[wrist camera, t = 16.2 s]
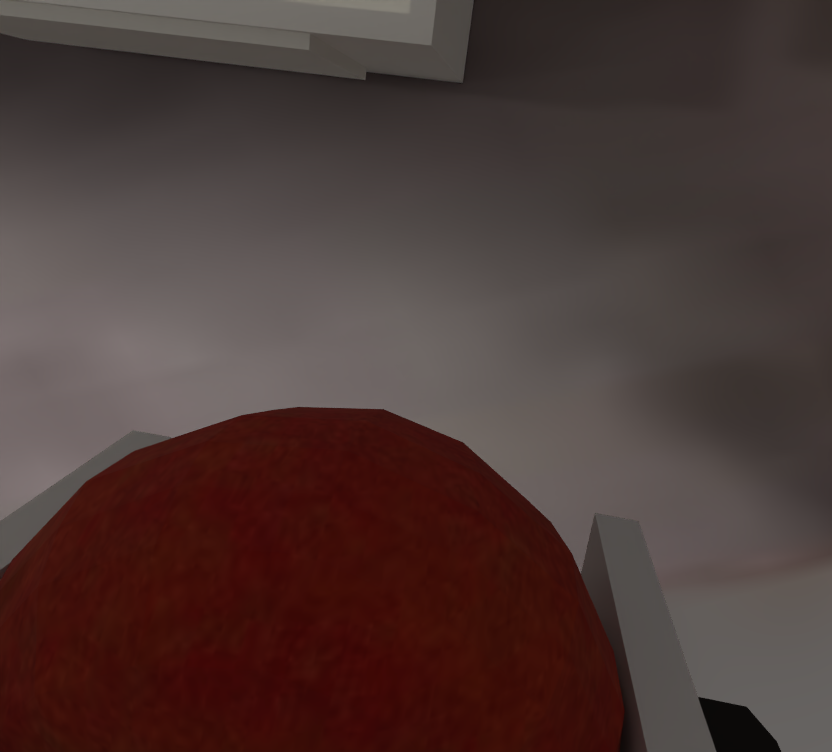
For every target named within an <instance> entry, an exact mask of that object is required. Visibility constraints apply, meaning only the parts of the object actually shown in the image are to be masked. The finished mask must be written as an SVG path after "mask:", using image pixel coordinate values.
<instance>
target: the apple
mask: <svg viewBox="0 0 832 752" xmlns="http://www.w3.org/2000/svg"><path fill="white" fill-rule="evenodd" d="M624 713H625V710H624V705H623V699H622V694H621V688H620V683H619V677H618V672H617V666H616V661H615V656H614V651H613V649H612V646H611V644H610V642H609V639H608V637H607V635H606V632H605V630H604V628H603V625H602V623H601V621H600V618H599V616H598V614H597V611H596V609H595V607H594V604H593V602H592V600H591V597H590V595H589V593H588V590H587V588H586V586H585V583H584V581H583V579H582V576H581V574H580V572H579V569H578V567H577V565H576V562H575V560H574V558H573V555H572V553H571V552H570V550H569V549H568V547H567V546H566V544H565V543H564V541H563V540H562V538H561V537H560V535H559V534H558V532H557V531H556V529H555V528H554V526H553V525H552V523H551V522H550V521H549V520H548V519H547V518H546V517H545V516H544V515H543V514H542V513H541V512H539V511H538V510H537V509H536V508H535V507H534V506H533V505H532V504H531V503H530V502H529V501H528V500H527V499H526V498H525V497H523V496H522V495H521V494H520V493H519V492H518V491H517V490H516V489H514V488H513V487H512V486H511V485H510V484H509V483H508V482H507V481H505V480H504V479H503V478H502V477H501V476H500V475H499V474H498V473H497V472H495V471H494V470H493V469H492V468H491V467H490V466H489V465H488V464H486V463H485V462H484V461H483V460H482V459H481V458H480V457H479V456H477V455H476V454H475V453H474V452H473V451H472V450H471V449H470V448H468V447H467V446H466V445H465V444H464V443H463V442H460V441H458V440H456V439H453V438H451V437H448V436H446V435H444V434H441V433H439V432H436V431H434V430H432V429H429V428H427V427H424V426H422V425H420V424H417V423H415V422H412V421H410V420H408V419H405V418H403V417H400V416H398V415H396V414H393V413H391V412H389V411H386V410H384V409H351V408H312V407H295V408H286V409H278V410H271V411H265V412H259V413H253V414H247V415H241V416H238V417H235V418H232V419H229V420H226V421H223V422H220V423H217V424H214V425H211V426H208V427H205V428H202V429H199V430H196V431H193V432H190V433H187V434H184V435H181V436H178V437H175V438H172V439H168V440H165V441H162V442H159V443H156V444H153V445H150V446H147V447H144V448H141V449H138V450H135V451H133V452H131V453H130V454H128V455H127V456H125V457H124V458H122V459H120V460H119V461H117V462H116V463H114V464H113V465H111V466H109V467H108V468H106V469H105V470H103V471H102V472H100V473H98V474H97V475H95V476H94V477H92V478H91V479H89V480H87V481H86V482H85V483H84V484H83V485H82V486H81V487H80V488H79V489H78V491H77V492H76V493H75V494H74V495H73V496H72V497H71V498H70V499H69V500H68V501H67V502H66V503H65V504H64V505H63V506H62V507H61V509H60V510H59V511H58V512H57V513H56V514H55V515H54V516H53V517H52V518H51V519H50V520H49V521H48V522H47V523H46V524H45V525H44V526H43V528H42V529H41V530H40V531H39V532H38V533H37V534H36V535H35V536H34V537H33V538H32V539H31V540H30V541H29V542H28V543H27V544H26V546H25V547H24V548H23V549H22V550H21V551H20V552H19V553H18V554H17V555H16V556H15V557H14V558H13V559H12V561H11V563H10V564H9V566H8V568H7V570H6V571H5V573H4V575H3V576H2V578H1V580H0V752H620V745H621V737H622V729H623V721H624Z"/></svg>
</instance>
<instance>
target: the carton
mask: <svg viewBox="0 0 832 752" xmlns="http://www.w3.org/2000/svg"><path fill="white" fill-rule="evenodd" d="M473 4H474V0H0V33H1V34H5V35H9V36H13V37H17V38H21V39H25V40H31V41H39V42H48V43H56V44H65V45H73V46H82V47H90V48H99V49H107V50H116V51H124V52H132V53H141V54H149V55H158V56H166V57H175V58H183V59H192V60H200V61H209V62H217V63H226V64H234V65H243V66H251V67H259V68H268V69H276V70H285V71H293V72H302V73H310V74H319V75H327V76H336V77H344V78H353V79H361V80H366V72H371V73H379V74H388V75H396V76H405V77H414V78H422V79H431V80H439V81H448V82H456V83H463V78H464V71H465V63H466V56H467V48H468V41H469V33H470V26H471V19H472V11H473Z"/></svg>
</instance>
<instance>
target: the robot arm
mask: <svg viewBox="0 0 832 752" xmlns="http://www.w3.org/2000/svg"><path fill="white" fill-rule="evenodd" d="M168 439H171V437H167V436H162V435H156V434H150V433H145V432H139V431H134V430H133V431H132V432H130V433H129V434H127V435H126V436H124V437H123V438H121V439H120V440H119V441H117V442H116V443H114V444H113V445H111V446H110V447H108V448H107V449H105V450H104V451H102V452H101V453H100V454H98V455H97V456H95V457H94V458H92V459H91V460H89V461H88V462H86V463H85V464H83V465H82V466H80V467H79V468H78V469H76V470H75V471H73V472H72V473H70V474H69V475H67V476H66V477H64V478H63V479H61V480H60V481H59V482H57V483H56V484H54V485H53V486H51V487H50V488H48V489H47V490H45V491H44V492H42V493H41V494H40V495H38V496H37V497H35V498H34V499H32V500H31V501H29V502H28V503H26V504H25V505H23V506H22V507H21V508H19V509H18V510H16V511H15V512H13V513H12V514H10V515H9V516H7V517H6V518H4V519H3V520H2V521H0V580H1V578H2V576H3V575H4V573H5V571H6V570H7V568H8V566H9V564H10V563H11V561H12V559H13V558H14V557H15V556H16V555H17V554H18V553H19V552H20V551H21V550H22V549H23V548H24V547H25V546H26V544H27V543H28V542H29V541H30V540H31V539H32V538H33V537H34V536H35V535H36V534H37V533H38V532H39V531H40V530H41V529H42V528H43V526H44V525H45V524H46V523H47V522H48V521H49V520H50V519H51V518H52V517H53V516H54V515H55V514H56V513H57V512H58V511H59V510H60V509H61V507H62V506H63V505H64V504H65V503H66V502H67V501H68V500H69V499H70V498H71V497H72V496H73V495H74V494H75V493H76V492H77V491H78V489H79V488H80V487H81V486H82V485H83V484H84V483H85V482H86V481H87V480H89V479H91V478H92V477H94V476H95V475H97V474H98V473H100V472H102V471H103V470H105V469H106V468H108V467H109V466H111V465H113V464H114V463H116V462H117V461H119V460H120V459H122V458H124V457H125V456H127V455H128V454H130V453H131V452H133V451H135V450H138V449H141V448H144V447H147V446H150V445H153V444H156V443H159V442H162V441H165V440H168ZM581 576H582V579H583V581H584V583H585V586H586V588H587V590H588V593H589V595H590V597H591V600H592V602H593V604H594V607H595V609H596V611H597V614H598V616H599V618H600V621H601V623H602V625H603V628H604V630H605V632H606V635H607V637H608V639H609V642H610V644H611V646H612V649H613V651H614V656H615V661H616V666H617V672H618V677H619V683H620V688H621V694H622V699H623V705H624V710H625V713H624V721H623V729H622V737H621V745H620V752H781V750H780V748H779V746H778V743H777V741H776V740H775V739H774V738H773V737H772V735H771V734H770V733H769V732H768V731H767V730H766V729H765V728H764V726H763V725H762V724H761V723H760V722H759V721H758V719H757V718H756V717H755V716H754V715H753V714H752V713H751V711H750V710H749V709H748V708H747V707H745V706H740V705H735V704H730V703H725V702H720V701H715V700H710V699H705V698H700V697H698V696H697V693H696V690H695V687H694V684H693V682H692V678H691V675H690V672H689V669H688V667H687V663H686V661H685V658H684V655H683V652H682V649H681V646H680V643H679V640H678V637H677V634H676V631H675V628H674V625H673V622H672V619H671V616H670V613H669V610H668V607H667V604H666V601H665V598H664V595H663V592H662V589H661V586H660V583H659V580H658V578H657V575H656V572H655V569H654V566H653V563H652V560H651V557H650V554H649V551H648V548H647V545H646V542H645V539H644V536H643V533H642V530H641V527H640V524H639V521H636V520H630V519H625V518H619V517H613V516H608V515H602V514H597V513H595V516H594V520H593V524H592V528H591V533H590V537H589V541H588V546H587V550H586V554H585V559H584V563H583V567H582V571H581Z"/></svg>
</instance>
